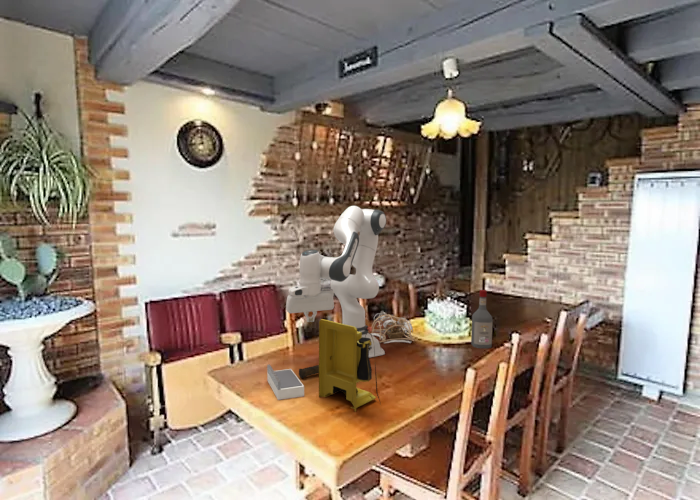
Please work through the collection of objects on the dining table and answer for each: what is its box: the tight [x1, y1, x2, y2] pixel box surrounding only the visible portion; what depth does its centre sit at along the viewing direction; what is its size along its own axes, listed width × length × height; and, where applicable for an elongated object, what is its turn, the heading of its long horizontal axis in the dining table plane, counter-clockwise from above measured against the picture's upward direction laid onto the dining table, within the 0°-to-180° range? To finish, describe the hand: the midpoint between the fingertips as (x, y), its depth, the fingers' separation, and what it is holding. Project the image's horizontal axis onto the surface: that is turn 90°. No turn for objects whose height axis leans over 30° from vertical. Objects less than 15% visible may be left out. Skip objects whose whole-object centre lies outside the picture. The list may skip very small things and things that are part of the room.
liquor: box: [470, 289, 494, 349], centre depth 228 cm, size 9×9×30 cm
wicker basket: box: [369, 310, 415, 344], centre depth 244 cm, size 28×35×16 cm
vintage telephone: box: [318, 318, 382, 412], centre depth 163 cm, size 31×14×30 cm, turn 48°
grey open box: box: [266, 364, 305, 401], centre depth 174 cm, size 10×20×7 cm, turn 22°
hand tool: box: [298, 364, 319, 379], centre depth 189 cm, size 19×4×5 cm, turn 126°
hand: (310, 321), depth 185 cm, fingers closed
